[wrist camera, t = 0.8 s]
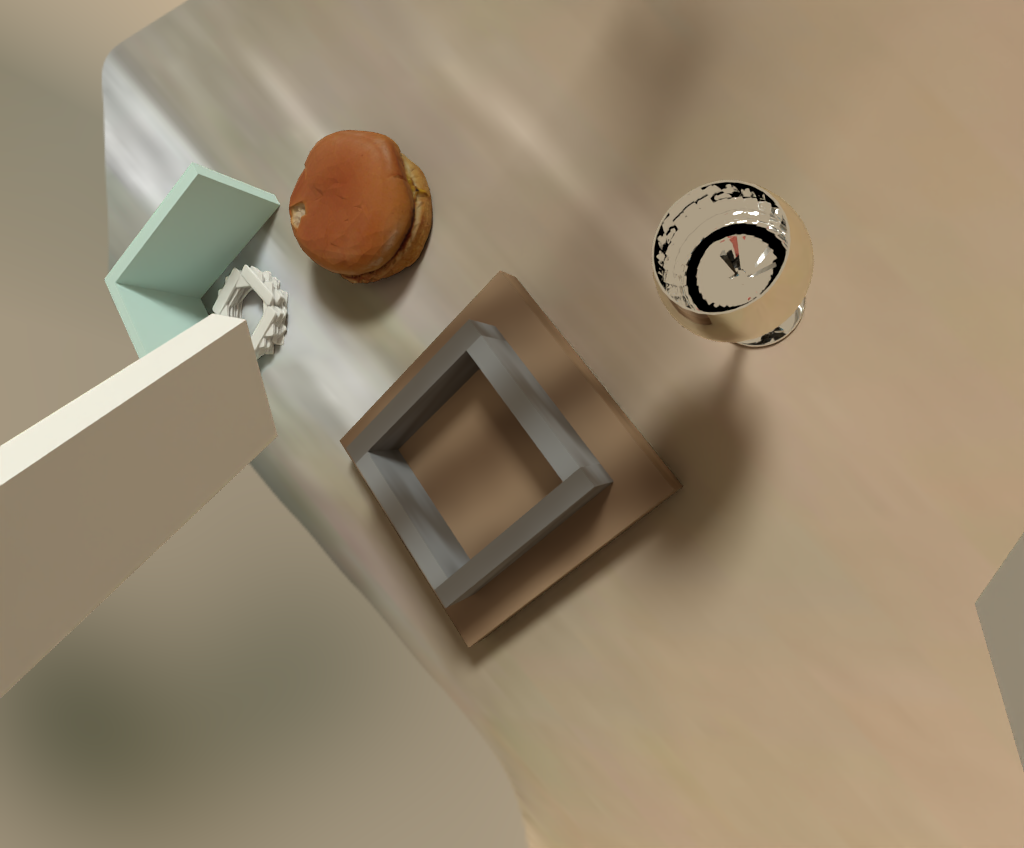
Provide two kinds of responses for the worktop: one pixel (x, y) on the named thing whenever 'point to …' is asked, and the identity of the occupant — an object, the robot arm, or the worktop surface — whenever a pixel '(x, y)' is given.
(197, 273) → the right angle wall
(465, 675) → the worktop surface
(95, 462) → the robot arm
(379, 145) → the burger
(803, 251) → the wineglass
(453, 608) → the socket base
